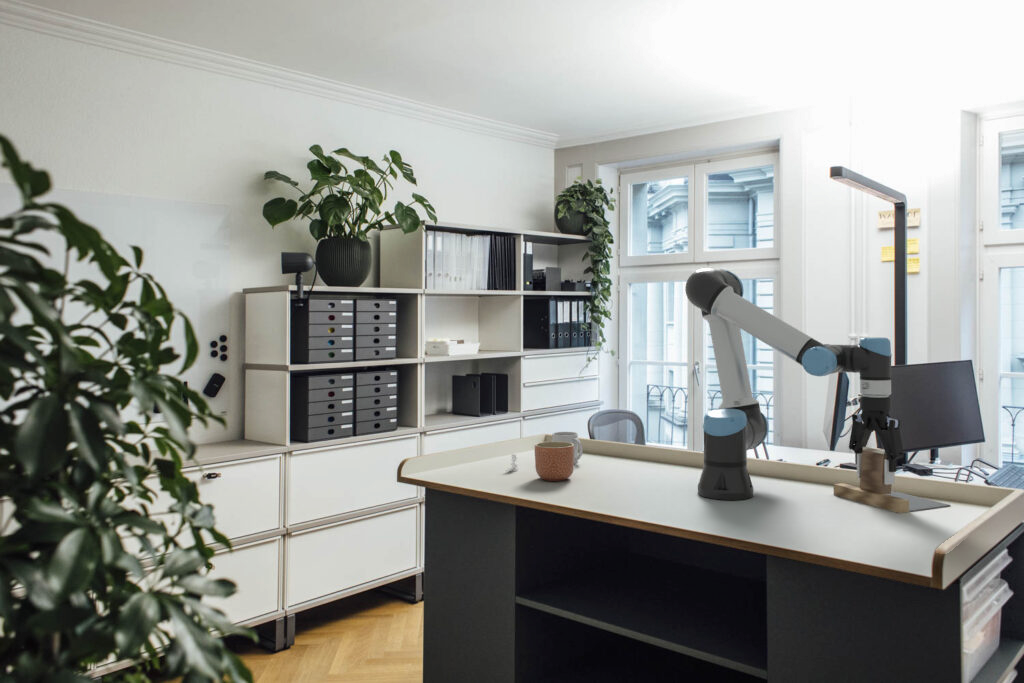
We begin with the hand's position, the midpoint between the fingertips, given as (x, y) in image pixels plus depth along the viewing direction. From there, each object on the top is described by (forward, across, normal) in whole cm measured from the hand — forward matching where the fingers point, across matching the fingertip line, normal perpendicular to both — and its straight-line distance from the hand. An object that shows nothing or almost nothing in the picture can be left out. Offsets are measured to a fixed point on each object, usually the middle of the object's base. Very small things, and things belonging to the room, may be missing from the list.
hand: (875, 480), depth 202 cm
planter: (+6, -63, -65) cm, 91 cm away
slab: (+3, 0, 0) cm, 3 cm away
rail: (+6, 0, -2) cm, 6 cm away
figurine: (+7, -81, -72) cm, 109 cm away
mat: (+6, 0, +7) cm, 9 cm away
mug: (+6, -86, -50) cm, 100 cm away
